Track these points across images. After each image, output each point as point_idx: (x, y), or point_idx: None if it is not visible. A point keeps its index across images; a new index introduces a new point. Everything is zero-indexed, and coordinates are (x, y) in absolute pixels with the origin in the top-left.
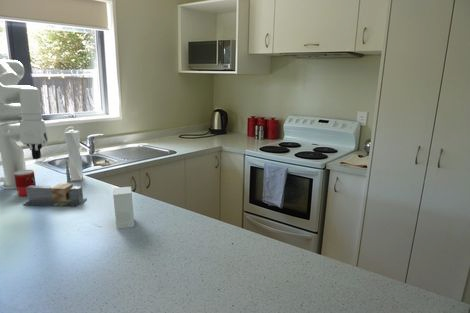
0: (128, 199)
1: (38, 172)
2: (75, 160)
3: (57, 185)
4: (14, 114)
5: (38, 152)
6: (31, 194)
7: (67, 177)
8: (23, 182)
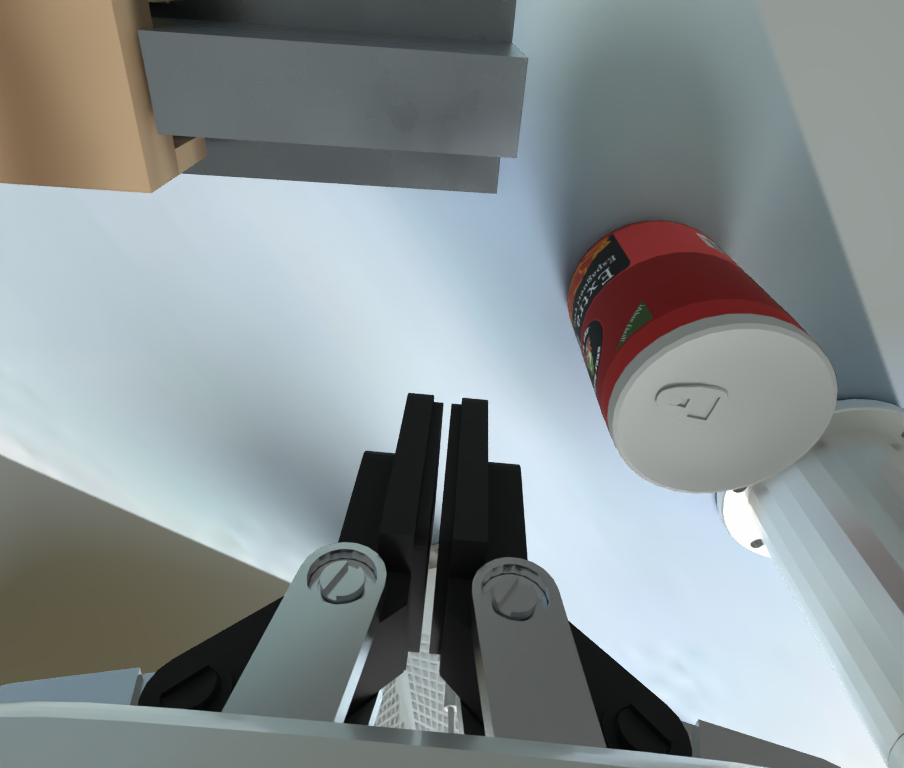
0: None
1: (768, 694)
2: None
3: (116, 112)
4: None
5: (345, 527)
6: (460, 44)
7: None
8: (668, 277)
